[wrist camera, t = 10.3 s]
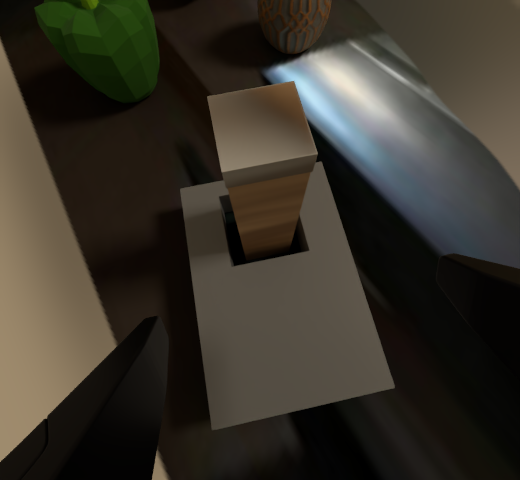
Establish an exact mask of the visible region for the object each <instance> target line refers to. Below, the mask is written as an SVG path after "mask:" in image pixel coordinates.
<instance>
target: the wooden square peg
mask: <svg viewBox="0 0 520 480" xmlns="http://www.w3.org/2000/svg"><path fill="white" fill-rule="evenodd" d="M207 98H208V103H209V108H210V113H211V119H212V124H213V129H214V134H215V139H216V144H217V150H218V155H219V160H220V165H221V170H222V175H223V178H224V182H225V186H226V188H228V192H229V196H230V200H231V204H232V208H233V211H234V215H235V219H236V223H237V227H238V231H239V234H240V238H241V242H242V246H243V250H244V254H245V258H246V261H247V260H252V259H257V258H262V257H266V256H271V255H276V254H281V253H285V252H289V250H290V247H291V243H292V239H293V236H294V232H295V228H296V225H297V221H298V217H299V214H300V210H301V206H302V203H303V199H304V195H305V192H306V188H307V184H308V181H309V177H310V173H311V172H313V169H314V165H315V162H316V158H317V155H318V153H317V150H316V147H315V144H314V141H313V138H312V135H311V132H310V129H309V125H308V122H307V119H306V116H305V113H304V110H303V107H302V104H301V101H300V98H299V95H298V92H297V89H296V86H295V83H294V81H291V82H285V83H280V84H274V85H269V86H263V87H258V88H252V89H246V90H241V91H235V92H230V93H224V94H219V95H213V96H207Z"/></svg>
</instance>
